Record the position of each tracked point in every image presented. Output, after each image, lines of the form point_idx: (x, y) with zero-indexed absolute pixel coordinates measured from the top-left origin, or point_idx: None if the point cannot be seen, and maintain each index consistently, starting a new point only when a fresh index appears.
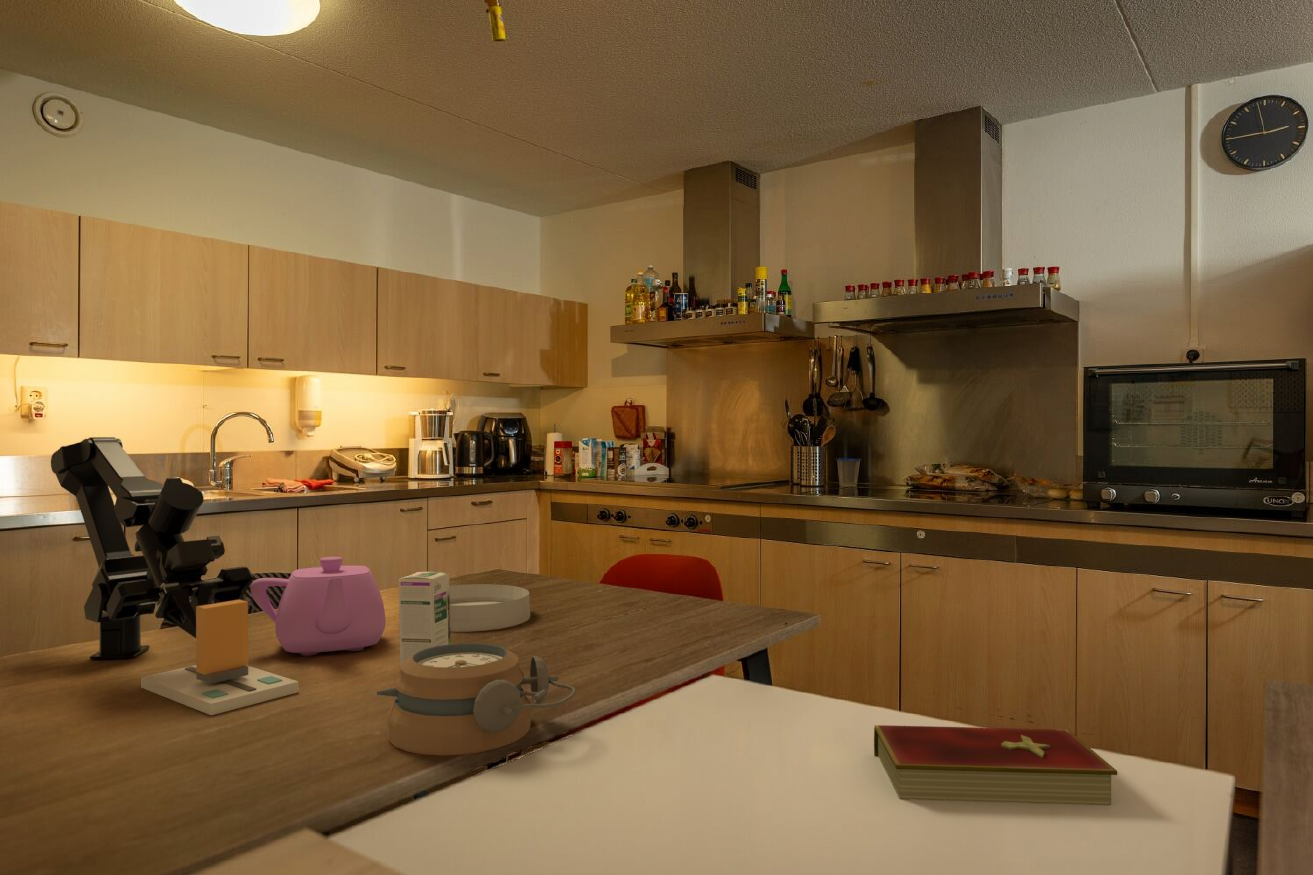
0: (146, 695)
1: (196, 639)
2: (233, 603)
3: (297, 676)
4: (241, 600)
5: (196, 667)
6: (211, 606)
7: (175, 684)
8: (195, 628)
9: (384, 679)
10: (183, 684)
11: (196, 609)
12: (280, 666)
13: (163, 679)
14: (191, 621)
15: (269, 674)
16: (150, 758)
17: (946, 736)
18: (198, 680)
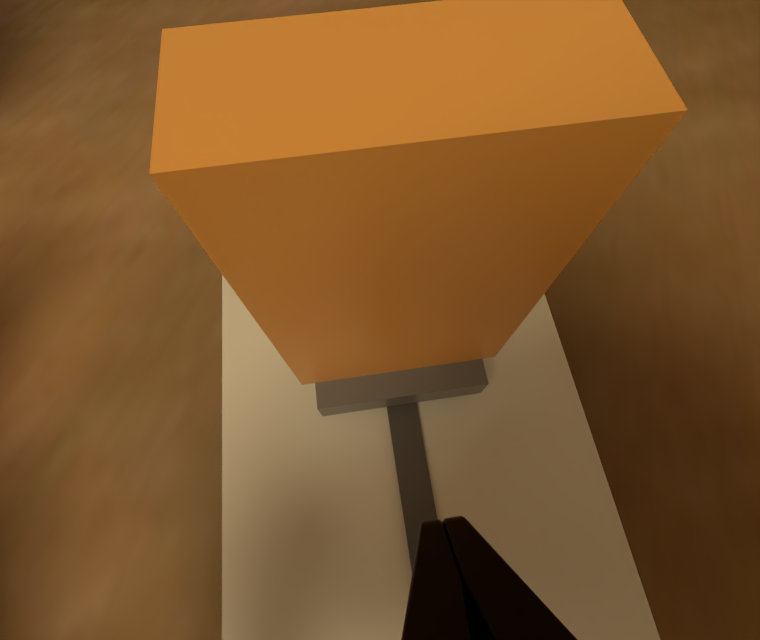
0: (632, 521)
1: (544, 288)
2: (310, 30)
3: (127, 361)
4: (167, 111)
5: (498, 351)
6: (536, 24)
7: (551, 425)
8: (511, 573)
9: (10, 155)
10: (525, 402)
11: (661, 134)
12: (63, 575)
13: (587, 558)
14: (565, 632)
15: (237, 309)
16: (636, 24)
17: None
18: (464, 420)
